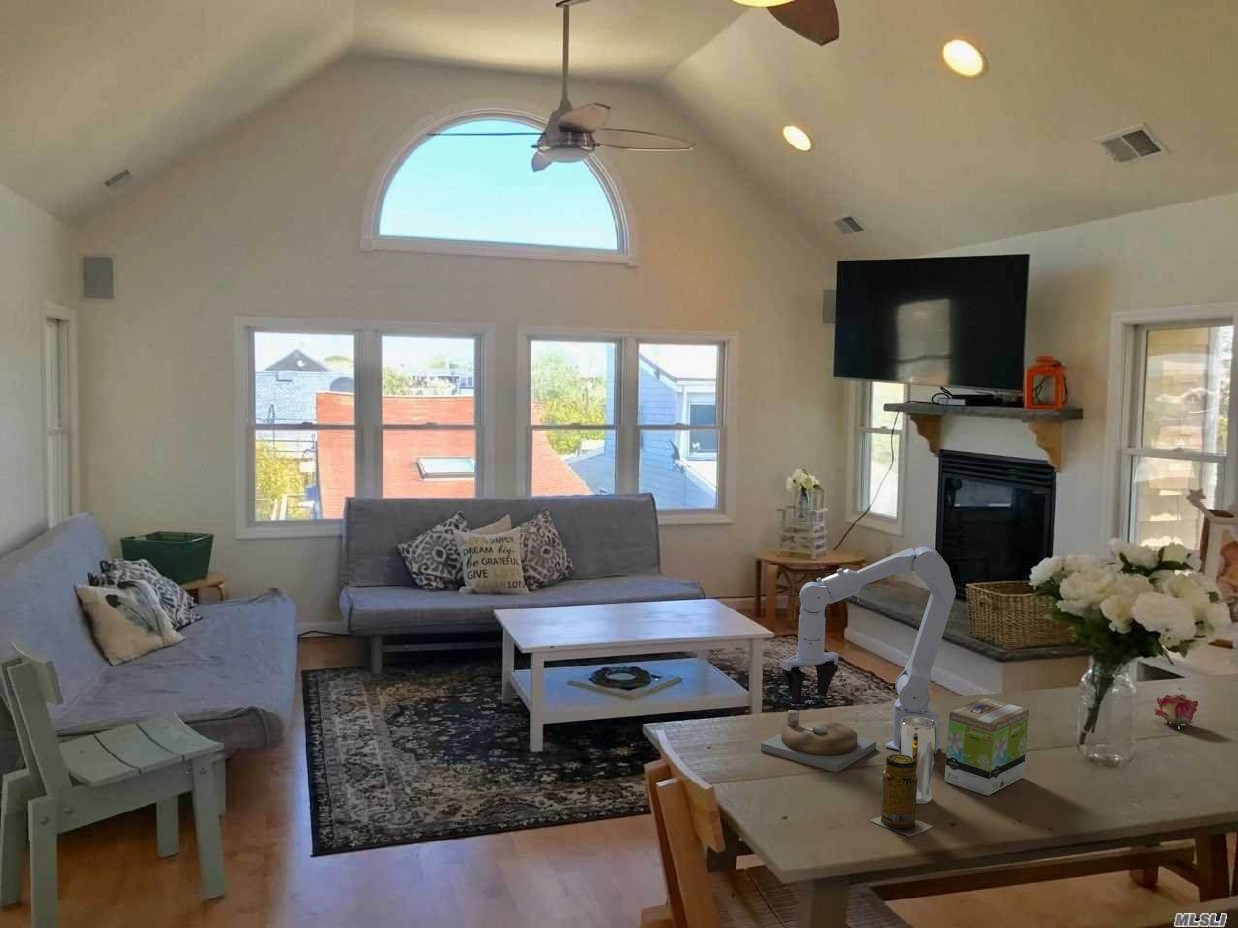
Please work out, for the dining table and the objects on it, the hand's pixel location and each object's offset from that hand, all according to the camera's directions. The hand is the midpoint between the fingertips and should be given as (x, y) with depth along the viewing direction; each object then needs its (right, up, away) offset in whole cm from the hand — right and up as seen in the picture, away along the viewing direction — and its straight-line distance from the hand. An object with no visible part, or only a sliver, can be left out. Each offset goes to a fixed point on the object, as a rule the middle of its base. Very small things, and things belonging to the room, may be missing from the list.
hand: (809, 697), depth 228 cm
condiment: (+9, -14, -41) cm, 45 cm away
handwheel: (+1, -8, -6) cm, 10 cm away
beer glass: (+15, -13, -30) cm, 35 cm away
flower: (+89, -10, +16) cm, 91 cm away
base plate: (+1, -10, -6) cm, 11 cm away
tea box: (+32, -12, -20) cm, 39 cm away
